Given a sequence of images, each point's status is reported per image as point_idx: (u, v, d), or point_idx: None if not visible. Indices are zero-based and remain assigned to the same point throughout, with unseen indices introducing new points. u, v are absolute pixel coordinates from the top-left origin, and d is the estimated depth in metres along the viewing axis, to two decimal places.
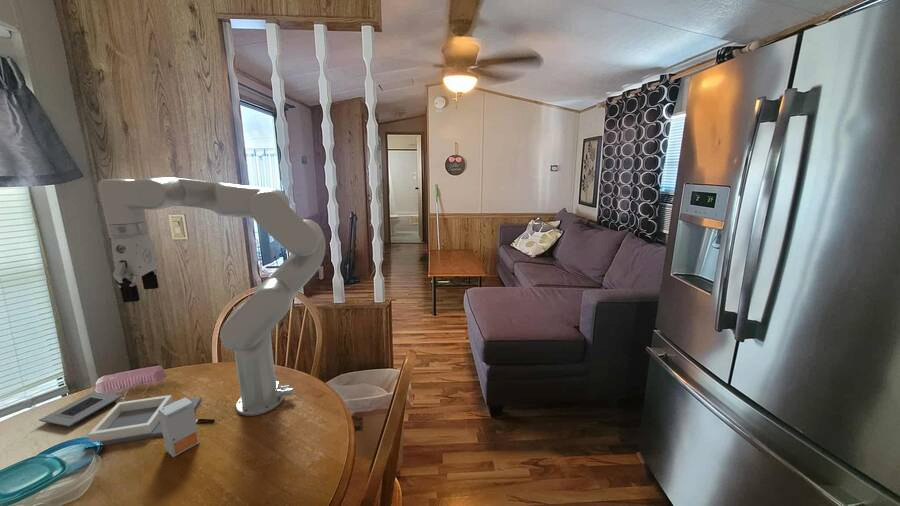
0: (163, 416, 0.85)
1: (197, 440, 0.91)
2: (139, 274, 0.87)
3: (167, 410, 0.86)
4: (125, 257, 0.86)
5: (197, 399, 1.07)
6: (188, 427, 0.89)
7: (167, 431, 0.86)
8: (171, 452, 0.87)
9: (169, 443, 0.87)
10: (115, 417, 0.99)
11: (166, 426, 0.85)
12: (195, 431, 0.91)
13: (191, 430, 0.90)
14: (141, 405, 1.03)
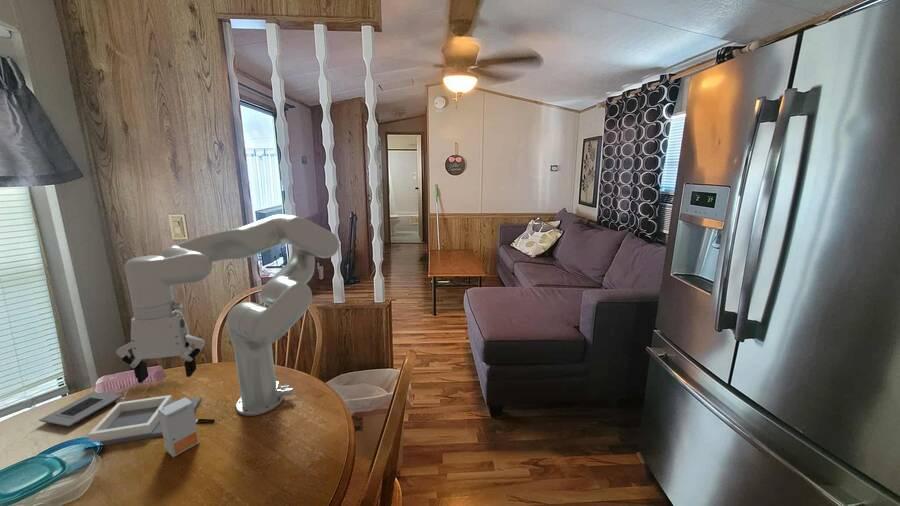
0: (163, 416, 0.85)
1: (197, 440, 0.91)
2: None
3: (167, 410, 0.86)
4: (185, 330, 0.85)
5: (197, 399, 1.07)
6: (188, 427, 0.89)
7: (167, 431, 0.86)
8: (171, 452, 0.87)
9: (169, 443, 0.87)
10: (115, 417, 0.99)
11: (166, 426, 0.85)
12: (195, 431, 0.91)
13: (191, 430, 0.90)
14: (141, 405, 1.03)
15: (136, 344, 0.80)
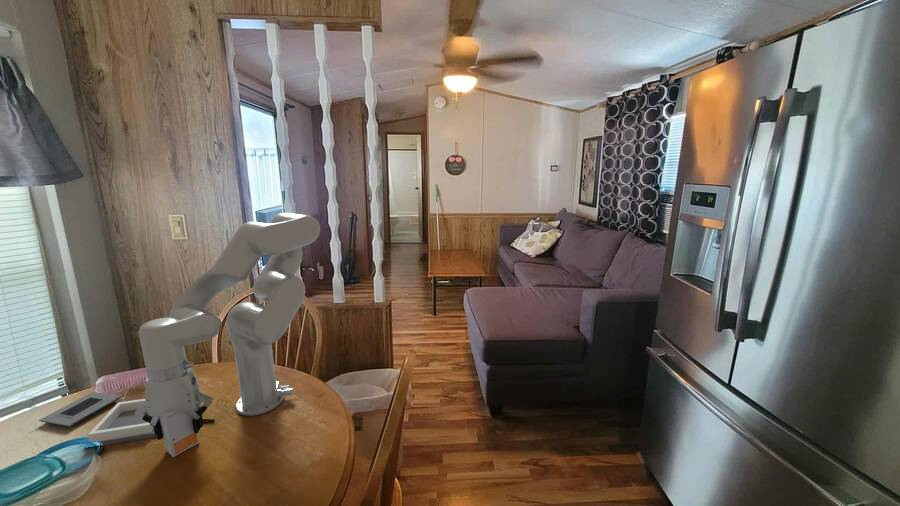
0: (163, 416, 0.85)
1: (197, 440, 0.91)
2: None
3: None
4: (197, 386, 0.89)
5: None
6: (188, 427, 0.89)
7: (167, 431, 0.86)
8: (171, 452, 0.87)
9: (169, 443, 0.87)
10: (115, 417, 0.99)
11: (166, 426, 0.85)
12: None
13: (191, 430, 0.90)
14: (141, 405, 1.03)
15: (150, 403, 0.84)
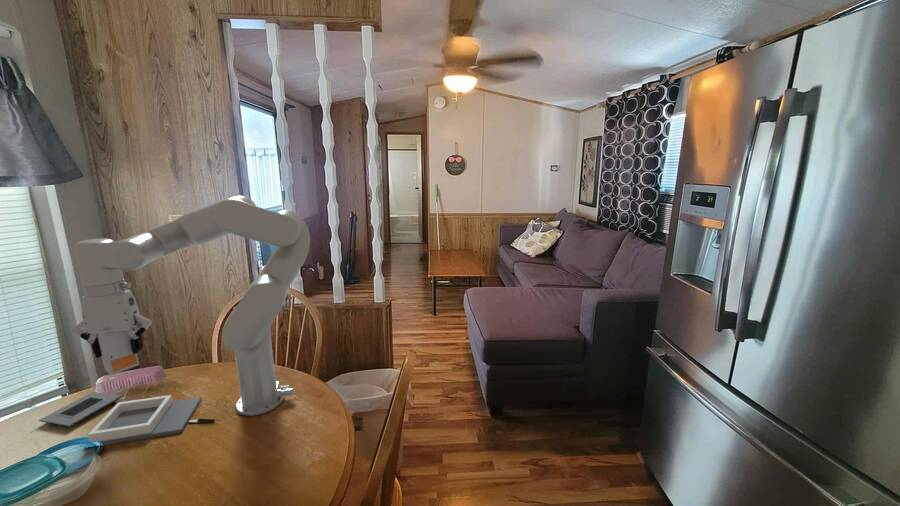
0: (100, 333, 0.89)
1: (136, 362, 0.95)
2: None
3: None
4: (135, 307, 0.92)
5: (197, 399, 1.07)
6: (126, 347, 0.92)
7: (104, 348, 0.89)
8: (109, 370, 0.90)
9: (106, 360, 0.90)
10: (115, 417, 0.99)
11: (103, 343, 0.89)
12: None
13: (130, 351, 0.93)
14: (141, 405, 1.03)
15: (86, 320, 0.87)
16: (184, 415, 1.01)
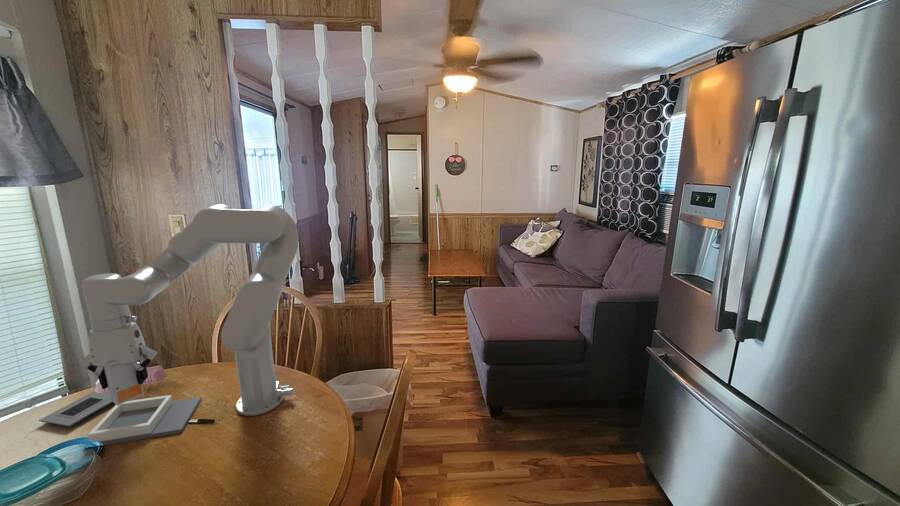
0: (106, 366, 0.91)
1: (142, 392, 0.97)
2: None
3: None
4: (140, 339, 0.95)
5: (197, 399, 1.07)
6: (132, 378, 0.95)
7: (110, 380, 0.91)
8: (115, 400, 0.93)
9: (112, 392, 0.92)
10: (115, 417, 0.99)
11: (109, 375, 0.91)
12: None
13: (135, 381, 0.96)
14: (141, 405, 1.03)
15: (94, 353, 0.90)
16: (184, 415, 1.01)
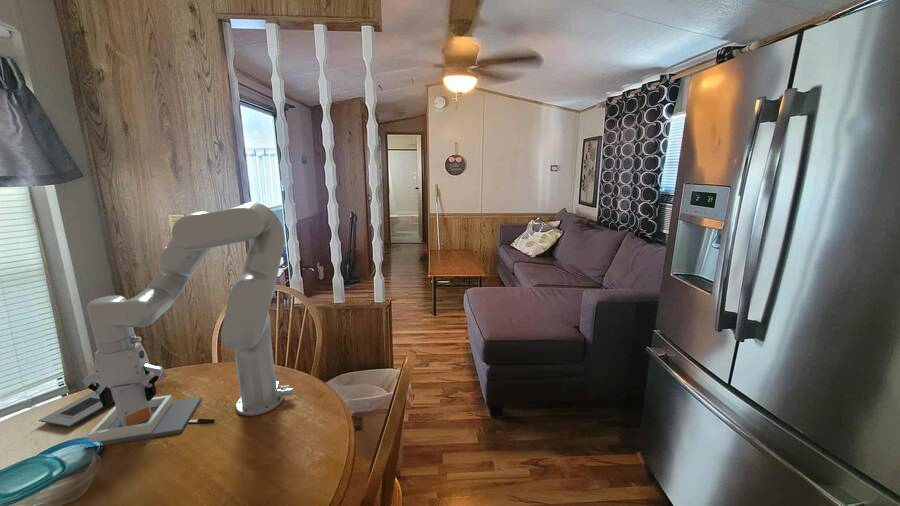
0: (115, 391, 0.93)
1: (149, 415, 0.99)
2: None
3: (120, 386, 0.94)
4: (145, 359, 0.96)
5: (197, 399, 1.07)
6: (140, 402, 0.97)
7: (119, 405, 0.93)
8: (123, 425, 0.95)
9: (121, 416, 0.94)
10: (115, 417, 0.99)
11: (118, 400, 0.93)
12: (147, 406, 0.98)
13: (143, 405, 0.97)
14: None
15: (99, 374, 0.91)
16: (184, 415, 1.01)
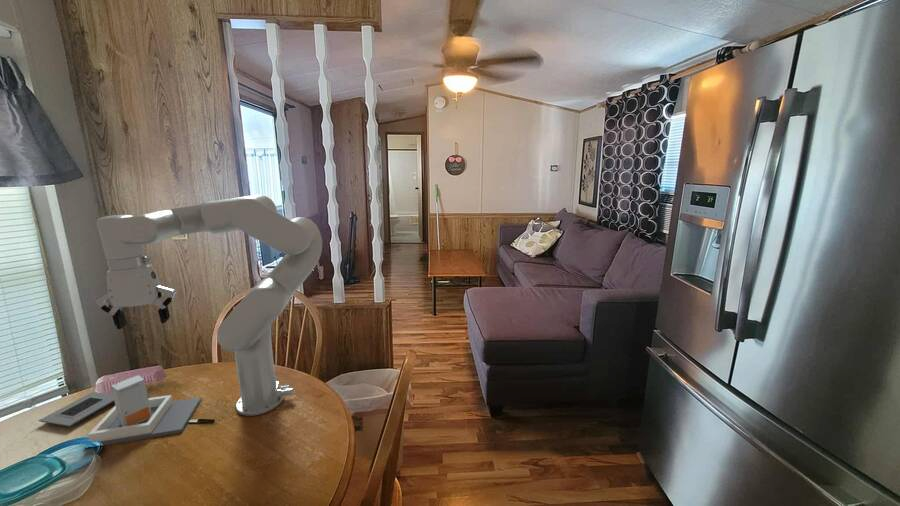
0: (115, 391, 0.93)
1: (149, 415, 0.99)
2: None
3: (119, 386, 0.94)
4: (157, 281, 0.96)
5: (197, 399, 1.07)
6: (140, 402, 0.97)
7: (119, 405, 0.93)
8: (123, 425, 0.95)
9: (121, 416, 0.94)
10: (115, 417, 0.99)
11: (118, 400, 0.93)
12: (147, 406, 0.98)
13: (143, 405, 0.97)
14: None
15: (112, 293, 0.91)
16: (184, 415, 1.01)
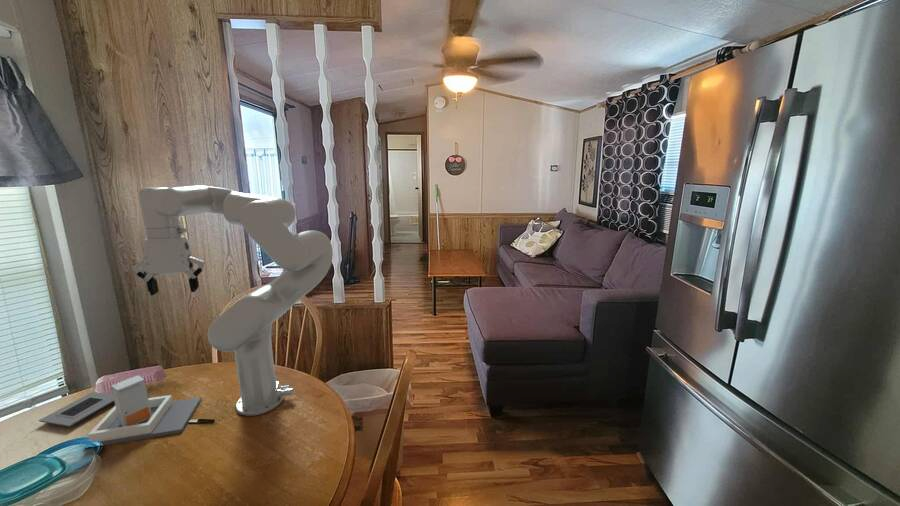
0: (115, 391, 0.93)
1: (149, 415, 0.99)
2: None
3: (119, 386, 0.94)
4: (189, 252, 1.01)
5: (197, 399, 1.07)
6: (140, 402, 0.97)
7: (119, 405, 0.93)
8: (123, 425, 0.95)
9: (121, 416, 0.94)
10: (115, 417, 0.99)
11: (118, 400, 0.93)
12: (147, 406, 0.98)
13: (143, 405, 0.97)
14: None
15: (148, 260, 0.96)
16: (184, 415, 1.01)
